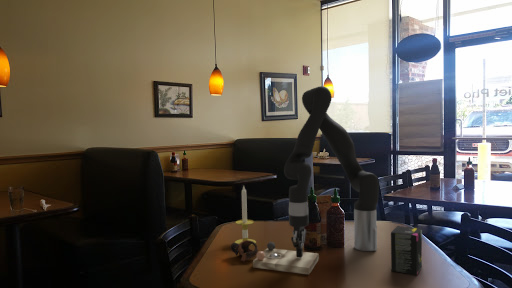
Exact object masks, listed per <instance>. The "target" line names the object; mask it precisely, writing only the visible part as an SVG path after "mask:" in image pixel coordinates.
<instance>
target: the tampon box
mask: <svg viewBox="0 0 512 288" xmlns="http://www.w3.org/2000/svg"><path fill="white" fill-rule="evenodd" d="M422 241H423V229H422V228H418V227H411V226H402V225H401V226H400V225H397V226H395V228H394V229H393V230H392V231H391V232H390V254H391V255H390V257H391V258H390V260H391V261H390V264H391V265H390V267H391V268H390V269H391V272H395V273H396V272H397V273H401V274H407V275H413V276H418V274H419V272H420V271H421V269H422V267H423V264H422V263H423V262H422V261H423V260H422V259H423V258H422V256H423V254H422V253H423V252H422V251H423V248H422V247H423V242H422Z"/></svg>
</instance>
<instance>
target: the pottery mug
mask: <svg viewBox="0 0 512 288" xmlns="http://www.w3.org/2000/svg"><path fill="white" fill-rule="evenodd" d="M252 244H253V245H252ZM250 245H251V246H254V249H251V248H250ZM229 248H230V250H231V252H232V253H233V254H234V255H235V256H241V258H240V261H241V262H243V263H245V262H246V261H248V260H250V259H252V258H253V259H254V258H255V257H256V254H257V253H258V252H259V250H258V245H257V242H256V243H254V242H253V241H250V240H245V241H242V242H241V243H240V244H237V243H235V242H232V243H231V245H230V246H229Z"/></svg>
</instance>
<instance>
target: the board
mask: <svg viewBox="0 0 512 288" xmlns="http://www.w3.org/2000/svg"><path fill="white" fill-rule="evenodd" d="M263 252H264V253H265V258H264V259H263V260H258V259H257V257H256V258H255V259H253V261H252V268H257V269H262V270H264V269H265V270H272V271H279V272H287V273H292V274H293V273H294V274H301V275H302V274H303V275H310V273H311V272H312V271H313V269H314V268H315V266H316V265H317V263H318V261H319V260H320V257H319V256H320V255H319V253H317V252H315V253H314V252H307V251H303V256H302V257H301V258H299V257H297V256H296V250H289V249H282V248H281V249H280V248H275V249H274V250H269V249H268V248H266V249H264V250H263ZM273 253H275V254H277V255H278V258H271V257H270V256H271V255H272V254H273Z"/></svg>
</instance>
